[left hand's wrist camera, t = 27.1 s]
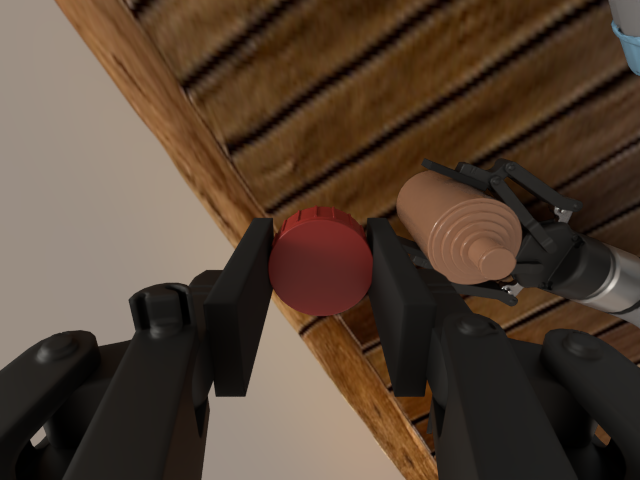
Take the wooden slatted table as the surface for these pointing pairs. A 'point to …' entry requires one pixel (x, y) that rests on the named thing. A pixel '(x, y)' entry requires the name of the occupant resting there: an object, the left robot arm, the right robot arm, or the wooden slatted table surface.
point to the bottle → (460, 228)
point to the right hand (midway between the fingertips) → (407, 203)
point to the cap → (320, 261)
